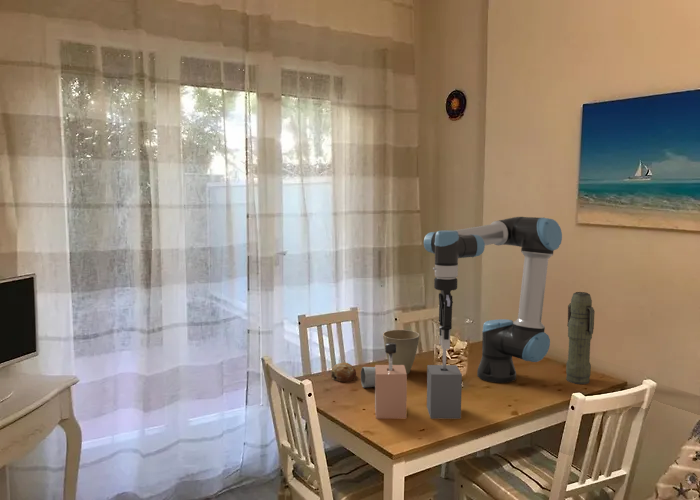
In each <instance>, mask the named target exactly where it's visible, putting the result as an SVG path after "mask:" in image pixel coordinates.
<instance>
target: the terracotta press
mask: <svg viewBox="0 0 700 500" xmlns="http://www.w3.org/2000/svg"><path fill="white" fill-rule="evenodd" d="M374 367H375V387H374V411H375V419H407V400H408V399H407V397H408V396H407V393H408V392H407V389H408V388H407V385H408V384H407V381H408V379H407V378H408V374H407V373H406V370H405V366H404V365H392V371H389V364H374Z"/></svg>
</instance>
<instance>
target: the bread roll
mask: <svg viewBox="0 0 700 500" xmlns="http://www.w3.org/2000/svg"><path fill="white" fill-rule="evenodd" d="M330 372H331V373H330V376H331V379H332V380H334V381H336V382H341V383H343V382H344V383H345V382H351V381H354V380H355V379H356V377H357V370H356V369H355V367H354V366H353V365H352V364H351V363H348V362H339V363H336V364H334V366H333V367H332V369H331V371H330Z"/></svg>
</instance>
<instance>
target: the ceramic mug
mask: <svg viewBox="0 0 700 500" xmlns="http://www.w3.org/2000/svg"><path fill="white" fill-rule="evenodd" d="M360 383H361V387H362V388H365V389H366V388H375V366H363V367H361V369H360Z"/></svg>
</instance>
